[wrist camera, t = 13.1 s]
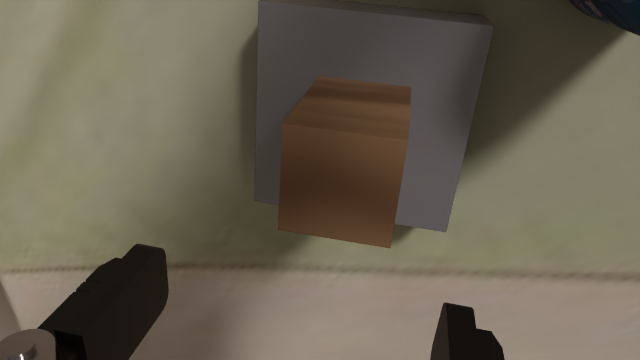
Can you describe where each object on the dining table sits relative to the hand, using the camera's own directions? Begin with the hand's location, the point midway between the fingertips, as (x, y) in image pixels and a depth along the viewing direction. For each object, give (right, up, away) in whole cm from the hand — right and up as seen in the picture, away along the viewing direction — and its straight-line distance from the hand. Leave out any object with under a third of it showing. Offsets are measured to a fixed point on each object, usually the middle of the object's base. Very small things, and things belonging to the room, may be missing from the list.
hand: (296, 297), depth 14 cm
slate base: (+4, +8, +17) cm, 19 cm away
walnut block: (+3, +6, +13) cm, 15 cm away
